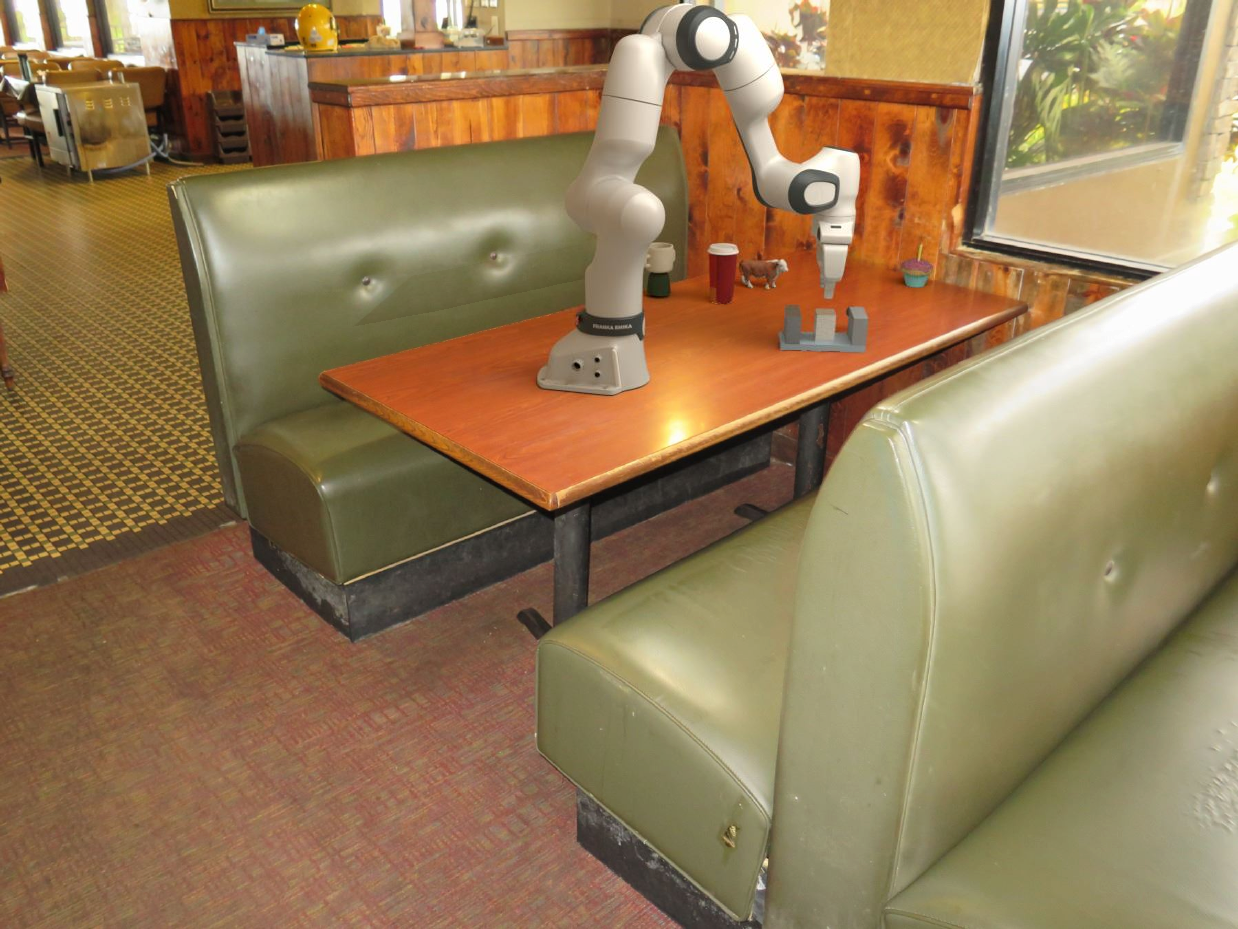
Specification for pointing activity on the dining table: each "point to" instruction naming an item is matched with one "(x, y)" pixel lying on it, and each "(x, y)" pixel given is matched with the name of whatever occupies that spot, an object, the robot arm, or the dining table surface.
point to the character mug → (659, 268)
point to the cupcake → (916, 270)
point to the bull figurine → (762, 270)
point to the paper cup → (722, 272)
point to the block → (824, 325)
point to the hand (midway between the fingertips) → (825, 292)
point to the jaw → (792, 324)
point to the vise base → (836, 336)
